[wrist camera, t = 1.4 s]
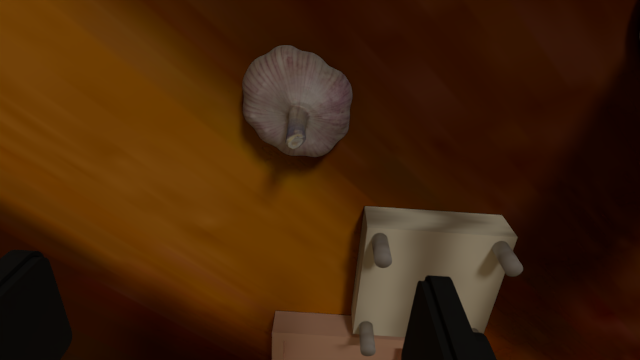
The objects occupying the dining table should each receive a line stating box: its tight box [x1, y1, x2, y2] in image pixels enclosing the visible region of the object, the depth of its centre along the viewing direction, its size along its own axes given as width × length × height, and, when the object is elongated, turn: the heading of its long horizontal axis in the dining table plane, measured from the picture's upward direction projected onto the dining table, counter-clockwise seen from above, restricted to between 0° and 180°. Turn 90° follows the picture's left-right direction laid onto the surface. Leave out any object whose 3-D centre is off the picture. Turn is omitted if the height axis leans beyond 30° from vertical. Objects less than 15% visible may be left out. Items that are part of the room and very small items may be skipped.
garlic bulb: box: [242, 45, 352, 157], centre depth 24 cm, size 8×7×8 cm
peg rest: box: [351, 206, 523, 356], centre depth 32 cm, size 11×11×6 cm
